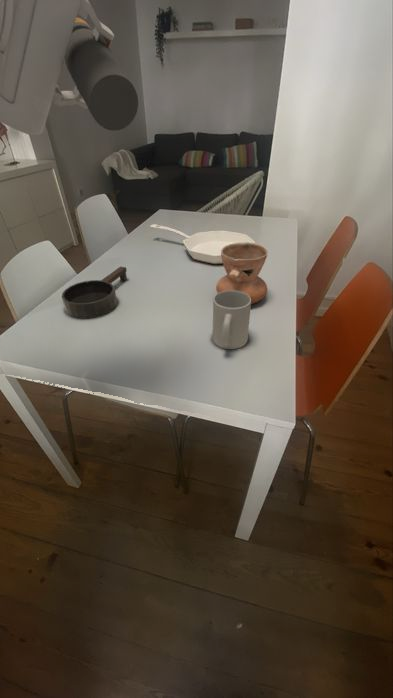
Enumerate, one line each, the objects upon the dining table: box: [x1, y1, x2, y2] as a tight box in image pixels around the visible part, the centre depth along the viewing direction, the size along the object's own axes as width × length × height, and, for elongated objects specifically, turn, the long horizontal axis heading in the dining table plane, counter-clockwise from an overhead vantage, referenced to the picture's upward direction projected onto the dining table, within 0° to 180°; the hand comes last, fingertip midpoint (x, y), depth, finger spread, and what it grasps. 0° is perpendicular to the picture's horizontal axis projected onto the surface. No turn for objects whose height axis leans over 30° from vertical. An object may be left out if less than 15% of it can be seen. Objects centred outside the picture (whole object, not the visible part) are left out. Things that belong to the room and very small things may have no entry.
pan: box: [149, 223, 257, 265], centre depth 122 cm, size 25×44×6 cm, turn 59°
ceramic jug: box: [215, 242, 268, 305], centre depth 89 cm, size 18×14×14 cm
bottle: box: [64, 16, 139, 131], centre depth 39 cm, size 6×6×15 cm
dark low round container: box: [61, 279, 118, 320], centre depth 90 cm, size 14×14×4 cm
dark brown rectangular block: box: [100, 266, 128, 284], centre depth 99 cm, size 2×11×4 cm, turn 159°
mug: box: [211, 290, 252, 350], centre depth 72 cm, size 12×8×11 cm
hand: (98, 72), depth 40 cm, fingers closed on bottle, 6 cm apart
